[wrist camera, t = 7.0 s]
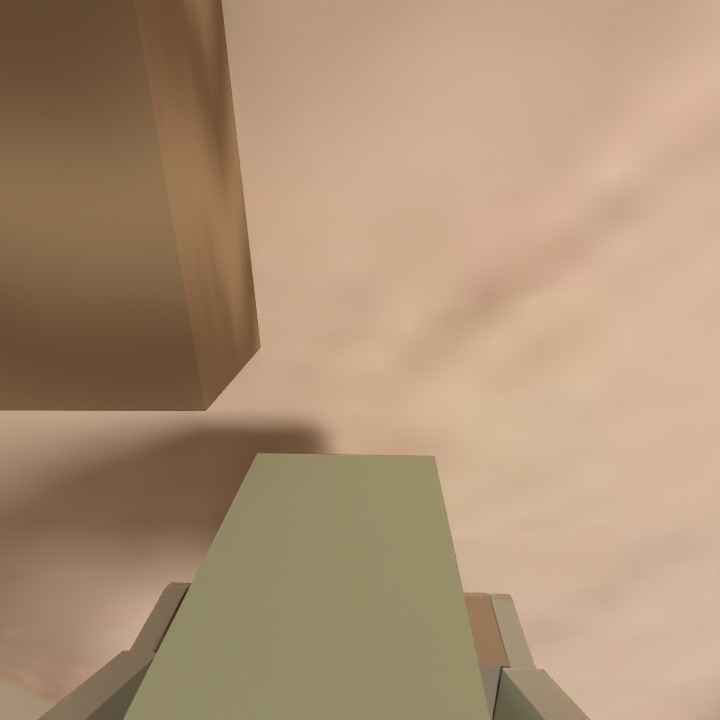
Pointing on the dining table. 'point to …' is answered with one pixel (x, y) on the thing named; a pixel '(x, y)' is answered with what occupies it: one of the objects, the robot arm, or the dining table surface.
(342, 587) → the sage block
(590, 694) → the dining table surface
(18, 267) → the walnut block
